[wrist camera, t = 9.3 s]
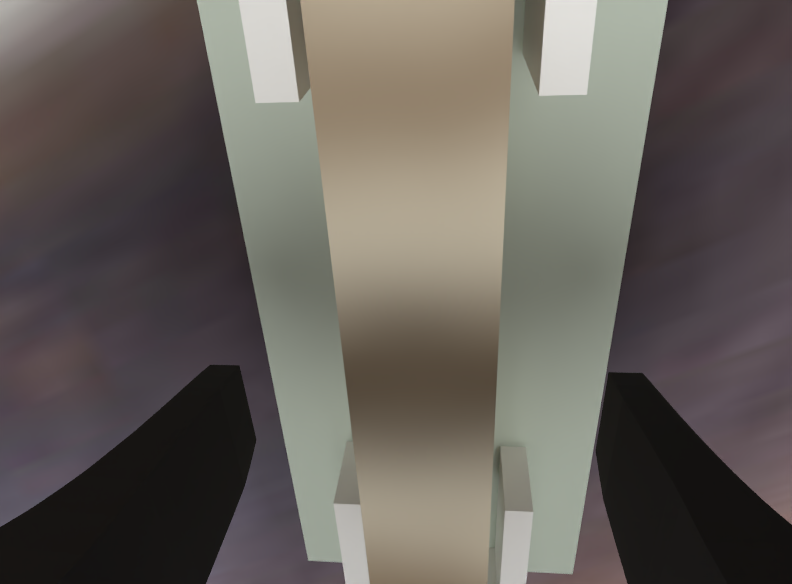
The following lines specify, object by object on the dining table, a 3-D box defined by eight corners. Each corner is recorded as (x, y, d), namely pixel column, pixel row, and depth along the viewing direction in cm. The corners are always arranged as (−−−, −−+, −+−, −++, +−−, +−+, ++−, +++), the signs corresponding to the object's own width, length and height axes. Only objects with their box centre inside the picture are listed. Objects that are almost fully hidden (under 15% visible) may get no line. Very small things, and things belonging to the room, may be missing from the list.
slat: (480, 477, 21) (485, 623, 17) (391, 473, 21) (373, 616, 17) (498, -80, 12) (517, -70, 8) (349, -72, 13) (293, -57, 8)
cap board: (569, 555, 24) (572, 574, 23) (312, 542, 25) (308, 560, 24) (702, -286, 11) (717, -298, 10) (165, -241, 12) (147, -248, 11)
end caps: (515, 563, 23) (523, 660, 20) (361, 555, 24) (346, 648, 21) (583, -234, 11) (628, -283, 8) (264, -209, 12) (197, -246, 9)
